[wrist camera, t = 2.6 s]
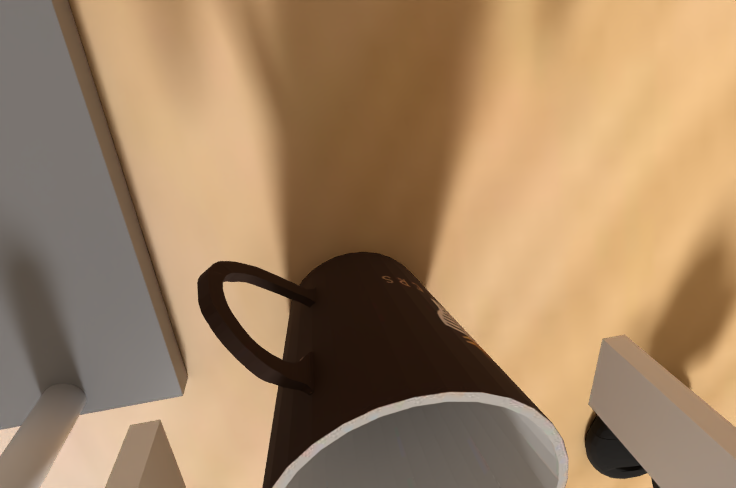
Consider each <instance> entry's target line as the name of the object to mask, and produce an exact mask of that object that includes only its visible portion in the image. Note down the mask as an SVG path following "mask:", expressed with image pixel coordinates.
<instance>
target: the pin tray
mask: <svg viewBox="0 0 736 488" xmlns="http://www.w3.org/2000/svg"><path fill="white" fill-rule="evenodd" d="M187 379H188V376H187V373H186V370H185V366H184V363H183V360H182V357H181V354H180V351H179V348H178V344H177V341H176V338H175V335H174V332H173V329H172V326H171V322H170V319H169V316H168V313H167V310H166V307H165V304H164V300H163V297H162V294H161V291H160V288H159V285H158V282H157V278H156V275H155V272H154V269H153V266H152V263H151V260H150V256H149V253H148V250H147V247H146V244H145V241H144V238H143V234H142V231H141V228H140V225H139V222H138V219H137V216H136V212H135V209H134V206H133V203H132V200H131V197H130V194H129V190H128V187H127V184H126V181H125V178H124V175H123V172H122V168H121V165H120V162H119V159H118V156H117V153H116V150H115V146H114V143H113V140H112V137H111V134H110V131H109V128H108V124H107V121H106V118H105V115H104V112H103V109H102V106H101V102H100V99H99V96H98V93H97V90H96V87H95V84H94V80H93V77H92V74H91V71H90V68H89V65H88V62H87V58H86V55H85V52H84V49H83V46H82V43H81V40H80V36H79V33H78V30H77V27H76V24H75V21H74V18H73V14H72V11H71V8H70V5H69V2H68V0H0V430H1V429H7V428H12V427H17V426H21V427H20V428H19V430H18V431H17V433H16V434H15V435H14V437H13V438H12V440H11V441H10V443H9V444H8V446H7V447H6V449H5V450H4V452H3V453H2V455H1V456H0V488H40V487H41V485H42V483H43V481H44V479H45V478H46V476H47V474H48V472H49V470H50V468H51V467H52V465H53V463H54V461H55V459H56V457H57V455H58V454H59V452H60V450H61V448H62V446H63V444H64V443H65V441H66V439H67V437H68V435H69V433H70V431H71V430H72V428H73V426H74V424H75V422H76V420H77V419H78V417H79V415H82V414H88V413H93V412H98V411H104V410H109V409H114V408H120V407H125V406H131V405H136V404H141V403H147V402H152V401H158V400H163V399H168V398H174V397H179V396H183V394H184V390H185V386H186V383H187Z"/></svg>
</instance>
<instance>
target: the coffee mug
mask: <svg viewBox="0 0 736 488" xmlns="http://www.w3.org/2000/svg"><path fill="white" fill-rule="evenodd" d="M225 281H228V282H247V283H250V284H253V285H256V286H259V287H261V288H264V289H267V290H269V291H272V292H275V293H277V294H280V295H282V296H285V297H287V298H289V299H292V302H291V309H290V315H289V321H288V328H287V334H286V341H285V347H284V353H283V360H282V359H280V358H278V357H276V356H274V355H272V354H270V353H269V352H268V351H266V350H265V349H263V348H262V347H261V346H259V345H258V344H257V343H256V342H255V341H254V340H253V339H252V338H251V337H250V336H249V335H248V334H247V332H246V331H245V330H244V329H243V327H242V326H241V325H240V323H239V322H238V321H237V319H236V318H235V316H234V315H233V313H232V312H231V310H230V308H229V306H228V304H227V302H226V299H225V296H224V292H223V282H225ZM197 284H198V303H199V306H200V309H201V312H202V314H203V316H204V318H205V320H206V321H207V323H208V324H209V326H210V328H211V329H212V331H213V332H214V333H215V335H216V336H217V338H218V339H219V340H220V341H221V343H222V344H223V345H224V346H225V347H226V348H227V349H228V350H229V351H230V353H231V354H232V355H233V356H234V357H235V358H236V359H237V360H238V361H239V362H241V363H242V364H243V365H244V366H245V367H246V368H247V369H248V370H249V371H250V372H252V373H253V374H254V375H256V376H257V377H258V378H260V379H262V380H264V381H266V382H269V383H273V384H276V385H279V386H278V392H277V398H276V405H275V411H274V418H273V424H272V430H271V437H270V443H269V450H268V456H267V462H266V469H265V475H264V482H263V488H565V486H566V483H567V479H568V455H567V452H566V448H565V444H564V441H563V439H562V437H561V436H560V434H559V433H558V431H557V430H556V428H555V427H554V425H553V424H552V422H551V421H550V420H549V419H548V418H547V417H546V416H545V415H544V414H543V413H542V412H541V411H540V410H539V409H538V407H537V406H536V405H535V404H534V403H533V402H532V401H531V400H530V399H529V398H528V397H527V396H526V395H525V394H524V393H523V392H522V390H521V389H520V388H519V387H518V386H517V385H516V384H515V383H514V382H513V381H512V380H511V379H510V378H509V377H508V376H507V374H506V373H505V372H504V371H503V370H502V369H501V368H500V367H499V366H498V365H497V364H496V363H495V362H494V361H493V360H492V359H491V357H490V356H489V355H488V354H487V353H486V352H485V351H484V350H483V349H482V348H481V347H480V346H479V345H478V344H477V343H476V342H475V340H474V339H473V338H472V337H471V336H470V335H469V334H468V333H467V332H466V331H465V330H464V329H463V328H462V327H461V326H460V324H459V323H458V322H457V321H456V320H455V319H454V318H453V317H452V316H451V315H450V314H449V313H448V312H447V311H446V310H445V309H444V307H443V306H442V305H441V304H440V303H439V302H438V301H437V300H436V299H435V298H434V297H433V296H432V295H431V294H430V293H429V292H428V290H427V289H426V288H425V287H424V286H423V285H422V284H421V283H420V282H419V281H418V280H417V279H416V278H415V277H414V276H413V275H412V273H411V272H410V271H409V270H408V269H406V268H405V267H404V266H403V265H402V264H401V263H399V262H397V261H396V260H394V259H392V258H390V257H387V256H384V255H381V254H377V253H368V252H358V253H349V254H345V255H341V256H337V257H335V258H333V259H330V260H328V261H326V262H324V263H322V264H321V265H320V266H318V267H317V268H315V269H314V270H312V271H311V272H310V273H309V274H308V276H307V277H306V278H305V279H304V280H303V281H302V282H301V284H300V285H299V286H298V285H296V284H294V283H292V282H290V281H288V280H286V279H283V278H281V277H279V276H277V275H274V274H272V273H270V272H267V271H265V270H263V269H260V268H258V267H255V266H251V265H247V264H242V263H238V262H231V261H220V262H217V263H215V264H213V265H212V266H211V267H210V268H208V269H207V270H206V271H205V272H204V273H203V274H202V275H201V276H200V277H199V278H198V283H197Z"/></svg>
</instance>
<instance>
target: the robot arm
mask: <svg viewBox="0 0 736 488" xmlns="http://www.w3.org/2000/svg"><path fill="white" fill-rule="evenodd" d="M589 405H590V407H591V408H592V409H593V410H594V411H595V412H596V414H597V415H598V416H599V417H600V418H601V419H602V421H603V422H604V423H605V424H606V425H607V426H608V427H609V429H610V430H611V431H612V432H613V433H614V434H615V436H616V437H617V438H618V439H619V440H620V441H621V443H622V444H623V445H624V446H625V447H626V448H627V450H628V451H629V452H630V453H631V454H632V455H633V457H634V458H635V459H636V460H637V461H638V462H639V463H640V465H641V466H642V467H643V468H644V469H645V470H646V472H647V473H648V474H649V475H650V476H651V477H652V479H653V480H654V481H655V482H656V483H657V484H658V486H659V487H660V488H736V427H734V426H733V425H732V424H731V423H730V422H728V421H727V420H726V419H725V418H724V417H722V416H721V415H720V414H719V413H718V412H717V411H715V410H714V409H713V408H712V407H711V406H709V405H708V404H707V403H706V402H705V401H703V400H702V399H701V398H700V397H699V396H697V395H696V394H695V393H694V392H693V391H691V390H690V389H689V388H688V387H687V386H685V385H684V384H683V383H682V382H681V381H679V380H678V379H677V378H676V377H675V376H673V375H672V374H671V373H670V372H669V371H667V370H666V369H665V368H664V367H663V366H662V365H660V364H659V363H658V362H657V361H656V360H654V359H653V358H652V357H651V356H650V355H648V354H647V353H646V352H645V351H644V350H642V349H641V348H640V347H639V346H638V345H636V344H635V343H634V342H633V341H632V340H630V339H629V338H628V337H627V336H626V335H620V336H615V337H609V338H604V339H602V344H601V348H600V353H599V357H598V362H597V367H596V371H595V376H594V381H593V385H592V390H591V395H590V399H589ZM105 488H186V486H185V483H184V481H183V478H182V476H181V473H180V470H179V468H178V465H177V462H176V460H175V457H174V454H173V452H172V449H171V447H170V444H169V441H168V439H167V436H166V433H165V431H164V428H163V425H162V423H161V420H156V421H150V422H145V423H139V424H134V425H130V427H129V429H128V432H127V434H126V437H125V439H124V442H123V444H122V447H121V449H120V452H119V454H118V457H117V459H116V462H115V464H114V467H113V469H112V472H111V474H110V477H109V479H108V482H107V484H106V487H105Z"/></svg>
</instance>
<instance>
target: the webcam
mask: <svg viewBox="0 0 736 488" xmlns="http://www.w3.org/2000/svg"><path fill="white" fill-rule="evenodd" d="M585 447H586V453H587V457H588V459H589V461H590V462H591V464H592V465H593V467H594V468H595V469H596V470H598V471H599V472H600V473H601V474H604V475H606V476H609V477H611V478H620V479H626V478H632V477H637V476H641V475H643V474H646V473H647V472H646V470H645V469H644V468H643V467H642V466H641V465H640V463H639V462H638V461H637V460H636V459H635V458H634V457H633V455H632V454H631V453H630V452H629V451H628V450H627V448H626V447H625V446H624V445H623V444H622V443H621V441H620V440H619V439H618V438H617V437H616V436H615V434H614V433H613V432H612V431H611V430H610V429H609V427H608V426H607V425H606V424H605V423H604V422H603V421H602V419H601V418H600V417H599V416H597V417H596V419H595V421H594V422H593V424H592V425H591V427H590V429H589V431H588V434H587V438H586V444H585ZM651 478H652V477H651ZM652 484H653V488H660V487H659V486H658V484H657V483H656V482H655V481H654V480H653V479H652Z"/></svg>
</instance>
